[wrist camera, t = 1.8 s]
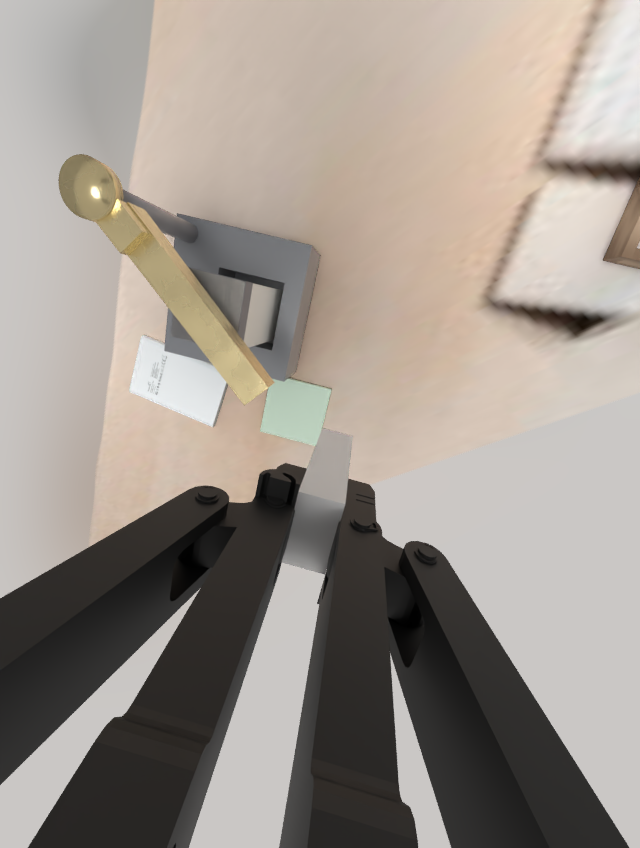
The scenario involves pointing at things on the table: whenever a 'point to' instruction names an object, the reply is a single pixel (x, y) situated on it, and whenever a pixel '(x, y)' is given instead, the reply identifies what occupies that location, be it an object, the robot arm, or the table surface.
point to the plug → (239, 307)
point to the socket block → (245, 278)
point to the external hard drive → (178, 382)
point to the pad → (295, 410)
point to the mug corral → (627, 235)
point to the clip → (161, 271)
